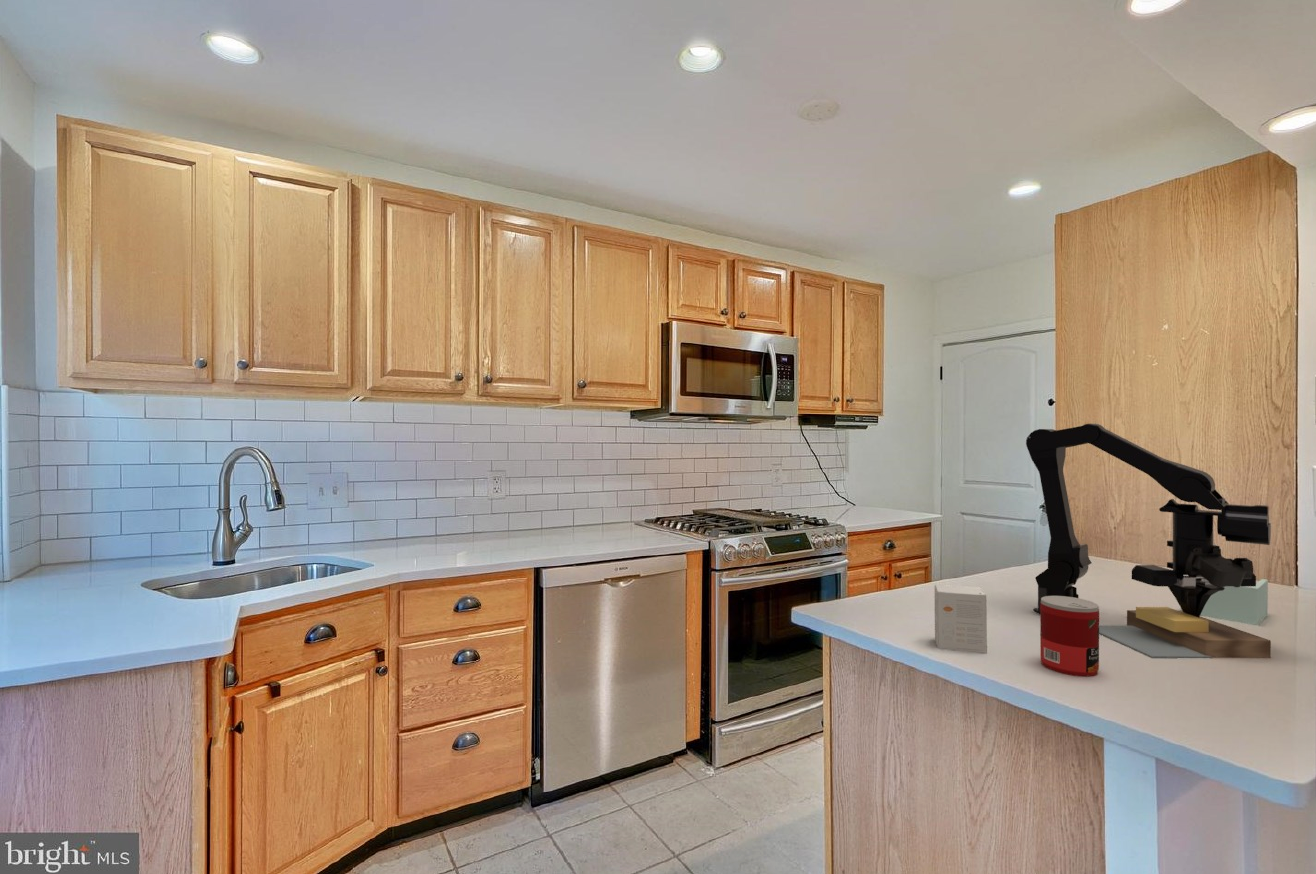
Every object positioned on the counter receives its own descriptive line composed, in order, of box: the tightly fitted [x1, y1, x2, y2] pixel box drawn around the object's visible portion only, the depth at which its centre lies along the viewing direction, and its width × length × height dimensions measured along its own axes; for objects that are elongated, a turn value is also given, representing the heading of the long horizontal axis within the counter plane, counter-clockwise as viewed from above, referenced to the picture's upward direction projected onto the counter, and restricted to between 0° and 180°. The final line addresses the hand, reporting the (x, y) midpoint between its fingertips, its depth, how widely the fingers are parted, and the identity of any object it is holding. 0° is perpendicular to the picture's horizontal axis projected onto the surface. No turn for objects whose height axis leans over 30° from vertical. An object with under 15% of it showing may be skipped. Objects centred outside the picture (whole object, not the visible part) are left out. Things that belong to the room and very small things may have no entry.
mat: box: [1099, 625, 1212, 659], centre depth 114 cm, size 10×17×1 cm, turn 179°
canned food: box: [1039, 596, 1100, 677], centre depth 101 cm, size 8×8×11 cm
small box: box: [934, 584, 988, 654], centre depth 111 cm, size 8×6×10 cm
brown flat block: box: [1126, 609, 1272, 659], centre depth 115 cm, size 11×18×3 cm, turn 179°
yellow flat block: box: [1135, 606, 1209, 632], centre depth 114 cm, size 6×9×2 cm, turn 0°
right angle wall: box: [1180, 578, 1269, 627], centre depth 132 cm, size 12×12×8 cm
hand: (1192, 621), depth 115 cm, fingers closed
